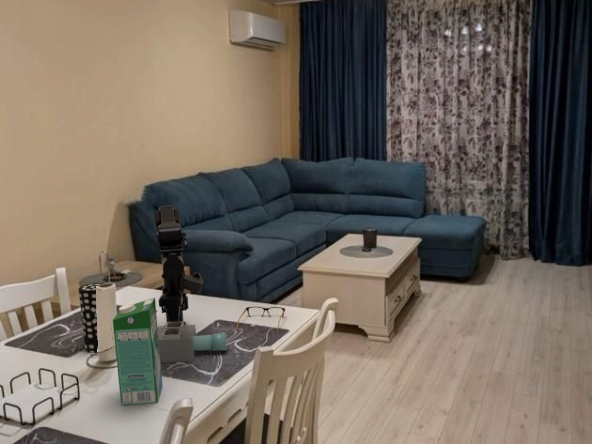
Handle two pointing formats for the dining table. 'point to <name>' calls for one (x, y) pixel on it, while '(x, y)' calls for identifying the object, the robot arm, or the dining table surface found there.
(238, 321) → the eyeglasses
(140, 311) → the milk carton
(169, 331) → the plunger
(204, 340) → the cartridge
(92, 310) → the spotted tube
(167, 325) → the housing
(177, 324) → the plunger
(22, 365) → the dining table surface
